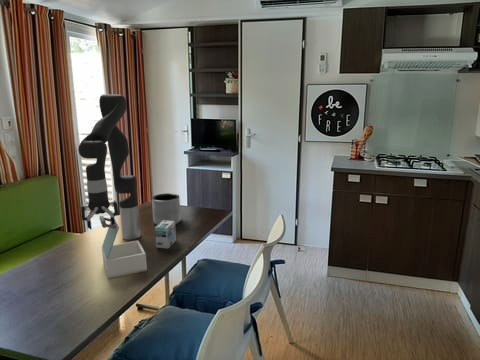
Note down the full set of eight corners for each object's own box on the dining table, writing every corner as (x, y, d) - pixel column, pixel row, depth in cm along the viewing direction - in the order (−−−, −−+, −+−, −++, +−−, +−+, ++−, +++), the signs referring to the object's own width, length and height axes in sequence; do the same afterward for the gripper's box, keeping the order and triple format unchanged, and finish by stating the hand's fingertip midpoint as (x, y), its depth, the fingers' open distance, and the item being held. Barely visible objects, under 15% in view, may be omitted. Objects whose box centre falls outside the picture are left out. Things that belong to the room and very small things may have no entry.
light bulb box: (168, 248, 178) (167, 228, 175) (155, 247, 179) (154, 227, 177) (176, 240, 188) (175, 220, 186) (164, 239, 189) (163, 219, 187)
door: (103, 246, 161) (89, 243, 158) (113, 216, 161) (99, 213, 158) (107, 259, 148) (92, 257, 145) (119, 227, 148) (103, 224, 144)
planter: (178, 226, 207) (176, 200, 203) (150, 227, 207) (148, 200, 203) (183, 217, 222) (181, 192, 218) (156, 217, 222) (155, 193, 219)
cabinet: (103, 263, 163) (101, 246, 161) (139, 256, 170) (138, 240, 168) (108, 279, 149) (106, 261, 148) (147, 270, 156) (145, 253, 154)
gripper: (114, 185, 154) (117, 221, 158) (77, 189, 148) (82, 227, 152) (117, 189, 148) (120, 227, 152) (79, 194, 142) (83, 233, 145)
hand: (101, 227), depth 152 cm, fingers open, 8 cm apart
